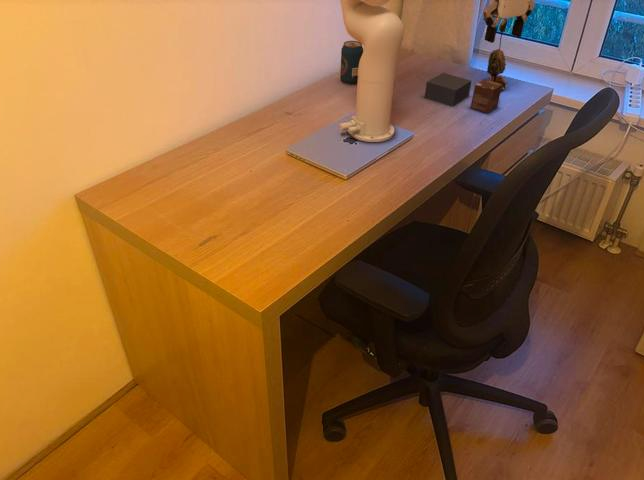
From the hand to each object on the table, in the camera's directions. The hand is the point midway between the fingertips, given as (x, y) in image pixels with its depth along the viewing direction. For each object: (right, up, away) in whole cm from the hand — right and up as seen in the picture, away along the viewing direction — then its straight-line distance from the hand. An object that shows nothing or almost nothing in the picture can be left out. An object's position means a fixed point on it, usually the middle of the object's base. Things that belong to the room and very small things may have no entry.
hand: (502, 38), depth 149 cm
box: (-1, -16, +13) cm, 20 cm away
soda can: (-40, -3, +27) cm, 49 cm away
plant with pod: (+6, -5, +25) cm, 26 cm away
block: (-11, -10, +18) cm, 24 cm away
